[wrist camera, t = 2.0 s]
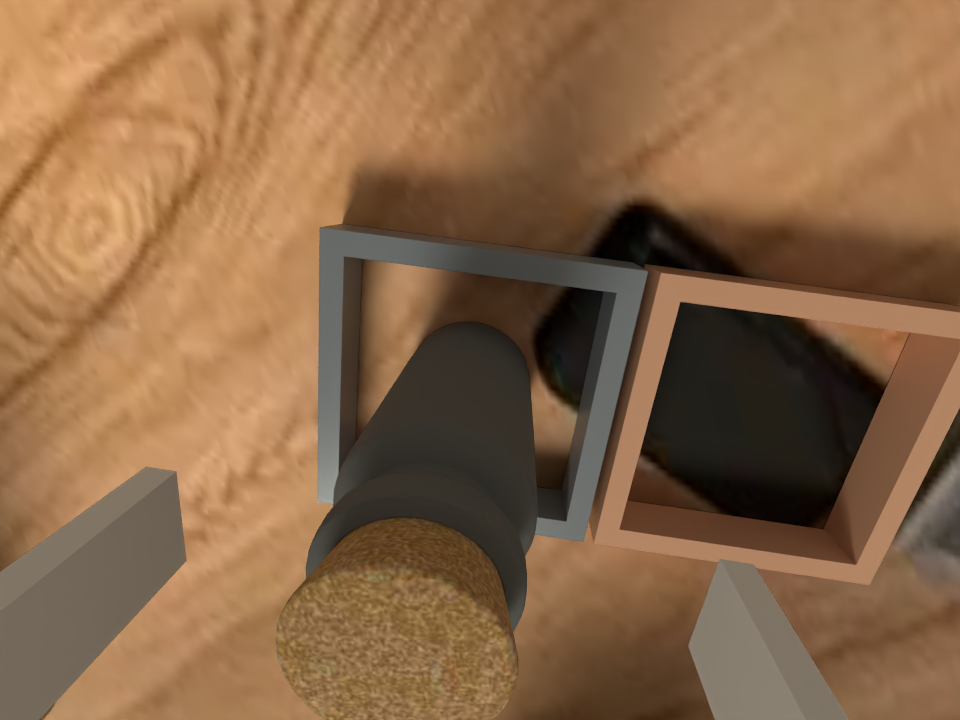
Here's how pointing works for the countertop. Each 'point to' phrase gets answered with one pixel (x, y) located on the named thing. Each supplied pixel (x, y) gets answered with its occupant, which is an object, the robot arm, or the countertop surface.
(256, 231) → the countertop surface
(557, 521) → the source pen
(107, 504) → the robot arm
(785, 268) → the countertop surface
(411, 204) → the countertop surface
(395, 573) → the bottle
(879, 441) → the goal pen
